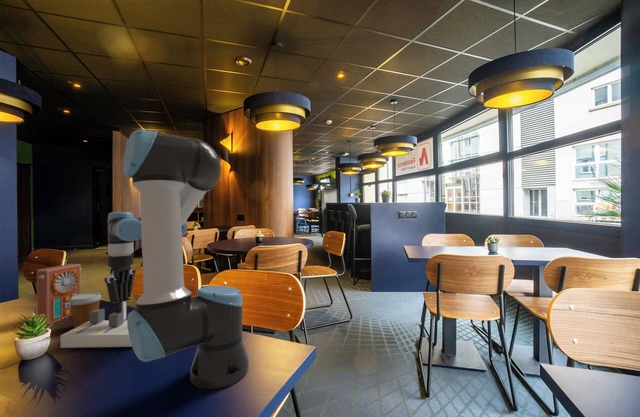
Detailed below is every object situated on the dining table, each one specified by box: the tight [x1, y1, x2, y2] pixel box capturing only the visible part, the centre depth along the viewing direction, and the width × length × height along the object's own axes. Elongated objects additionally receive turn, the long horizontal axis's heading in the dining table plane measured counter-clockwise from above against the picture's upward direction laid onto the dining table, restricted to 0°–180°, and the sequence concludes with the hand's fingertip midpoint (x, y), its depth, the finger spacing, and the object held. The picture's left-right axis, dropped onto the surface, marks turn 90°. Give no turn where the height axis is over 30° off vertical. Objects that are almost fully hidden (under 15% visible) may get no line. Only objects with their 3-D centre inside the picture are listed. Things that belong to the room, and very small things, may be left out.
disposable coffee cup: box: [69, 291, 102, 329], centre depth 105 cm, size 10×10×12 cm
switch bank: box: [60, 319, 133, 349], centre depth 95 cm, size 12×26×4 cm, turn 91°
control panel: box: [36, 263, 83, 325], centre depth 114 cm, size 21×7×15 cm
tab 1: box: [90, 308, 106, 323], centre depth 99 cm, size 3×3×4 cm
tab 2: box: [108, 311, 124, 327], centre depth 96 cm, size 3×3×4 cm
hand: (121, 319), depth 99 cm, fingers closed
